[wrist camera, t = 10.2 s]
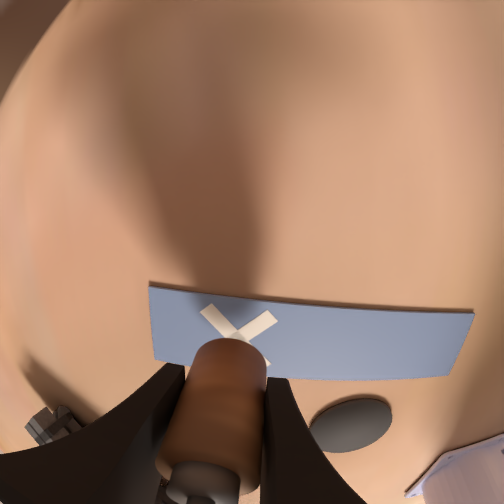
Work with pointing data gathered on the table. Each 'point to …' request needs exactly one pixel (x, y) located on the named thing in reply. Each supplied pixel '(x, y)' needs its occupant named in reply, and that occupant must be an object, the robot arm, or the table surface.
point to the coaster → (351, 425)
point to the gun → (62, 424)
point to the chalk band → (310, 336)
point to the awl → (217, 426)
